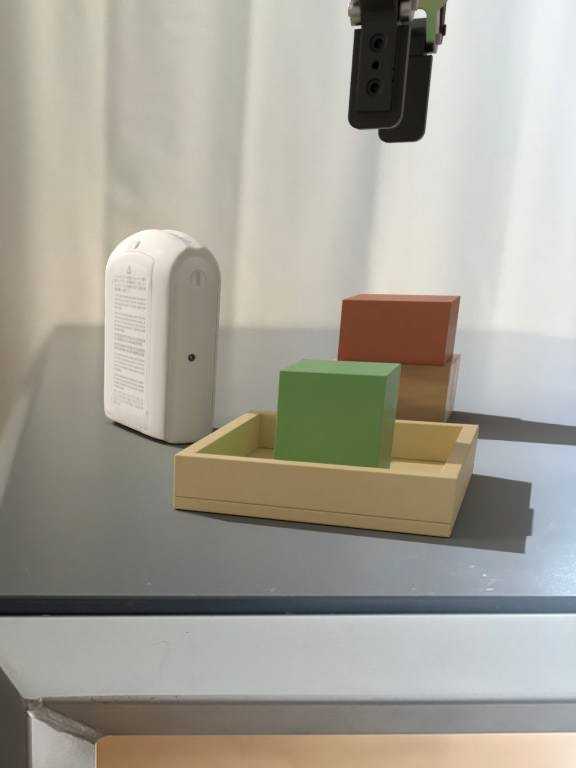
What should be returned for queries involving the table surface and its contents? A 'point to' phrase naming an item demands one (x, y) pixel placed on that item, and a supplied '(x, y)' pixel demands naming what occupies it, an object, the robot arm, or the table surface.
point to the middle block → (398, 328)
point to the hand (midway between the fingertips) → (388, 136)
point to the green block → (337, 412)
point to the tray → (330, 478)
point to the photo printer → (162, 335)
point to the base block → (427, 391)
